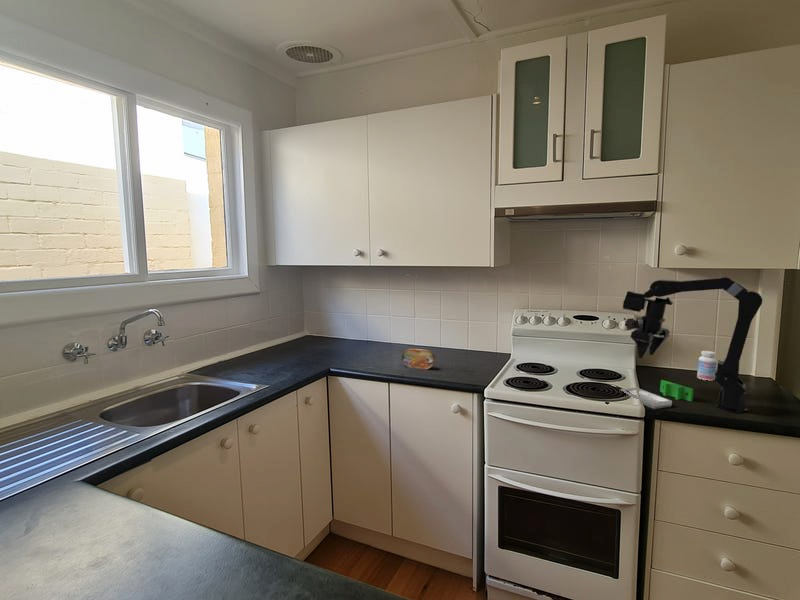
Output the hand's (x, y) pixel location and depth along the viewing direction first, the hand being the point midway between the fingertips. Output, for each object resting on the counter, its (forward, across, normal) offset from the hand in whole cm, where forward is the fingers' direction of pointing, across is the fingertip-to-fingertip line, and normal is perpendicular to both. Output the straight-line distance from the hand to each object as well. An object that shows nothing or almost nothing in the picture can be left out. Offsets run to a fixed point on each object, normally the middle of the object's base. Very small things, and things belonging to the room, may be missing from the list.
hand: (645, 356), depth 160 cm
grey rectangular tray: (+13, +8, +5) cm, 16 cm away
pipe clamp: (+13, -5, +10) cm, 17 cm away
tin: (+23, +42, -74) cm, 88 cm away
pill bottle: (+12, -39, +10) cm, 42 cm away
